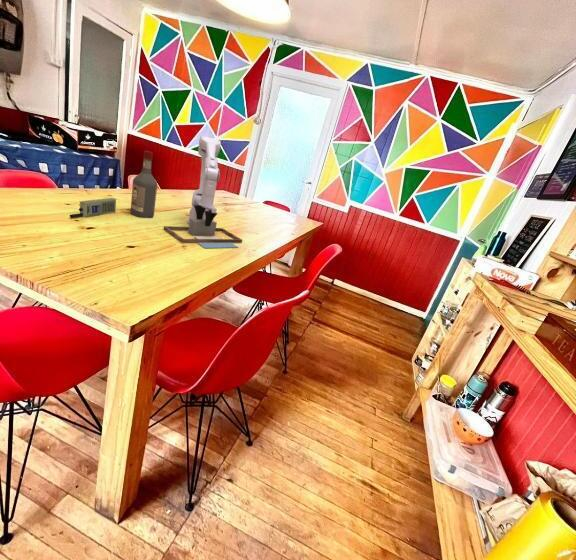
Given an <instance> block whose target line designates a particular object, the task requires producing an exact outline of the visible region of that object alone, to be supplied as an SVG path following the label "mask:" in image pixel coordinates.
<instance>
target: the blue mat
mask: <svg viewBox="0 0 576 560" xmlns="http://www.w3.org/2000/svg"><path fill="white" fill-rule="evenodd" d="M197 245H199V246H200V247H202V248H204V249H205V250H206V249H211V250H212V249H239V246H238V245H235V243H197Z"/></svg>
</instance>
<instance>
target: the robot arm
mask: <svg viewBox="0 0 576 560" xmlns="http://www.w3.org/2000/svg"><path fill="white" fill-rule="evenodd" d="M221 144H222V143H221V140H220V139H216V138H213V137H210V136H209V137H208V136H206V135H204V134H201V135H200V136H199V140H198V149H197V151H198V155H199V156H200V157H201V166H200V167H201V168H200V178H199V179H200V181H199V188H198V189H196V190H194V192H193V194H192V198H191V208H190V210H189V214H188V216H189V217H188V220H186V223H187V224H189V222H190V219H203V220H205V226H210V225H211V223H212V221H214V219H215V217H216V216H217V215H218V212H217V211H218V210H217V208H216V207H215V206H214V200H215V196H216V189H217V184H218V182H219V180H220V177H221V176H220V174H221V173H220V169H219V168H218V167H219V164H218V159H217V158H218V156H219V153H220V151H221Z"/></svg>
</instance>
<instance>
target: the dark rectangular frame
mask: <svg viewBox="0 0 576 560" xmlns="http://www.w3.org/2000/svg"><path fill="white" fill-rule="evenodd" d="M188 229H189V226H176V225H175V226H169V225H163V231H165V232H166V233H168V234H169V235H170V236H172V237H173V238H174V239H176V241H177V240H178V242H180V243H181V244H198V243H233V244H242V243H243V239H242V238H240V237H238V236H237V235H235V234H233V233H232V232H230V231H229V230H226V229H225V228H223V227H216V230H215V232H219V231H222V232H221V233H223V234H225V235H226V236H228V237H230V238H222V239H195V238H183V237H182V236H181V235H179V234H178V233H177V232H175V231H182V230H185V232H186V231H187V232H188Z"/></svg>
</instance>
